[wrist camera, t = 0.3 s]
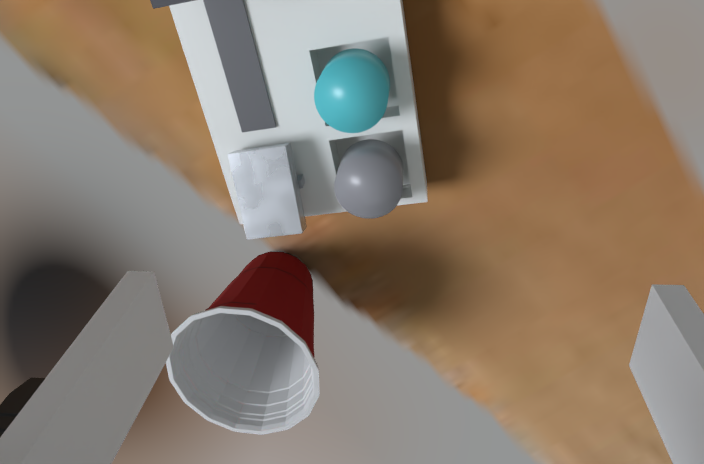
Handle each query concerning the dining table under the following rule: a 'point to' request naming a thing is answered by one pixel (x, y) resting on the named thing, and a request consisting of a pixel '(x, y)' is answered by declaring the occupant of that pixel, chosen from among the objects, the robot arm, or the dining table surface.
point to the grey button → (369, 179)
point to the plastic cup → (251, 350)
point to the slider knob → (166, 2)
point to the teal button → (352, 91)
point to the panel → (297, 84)
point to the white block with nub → (267, 191)
